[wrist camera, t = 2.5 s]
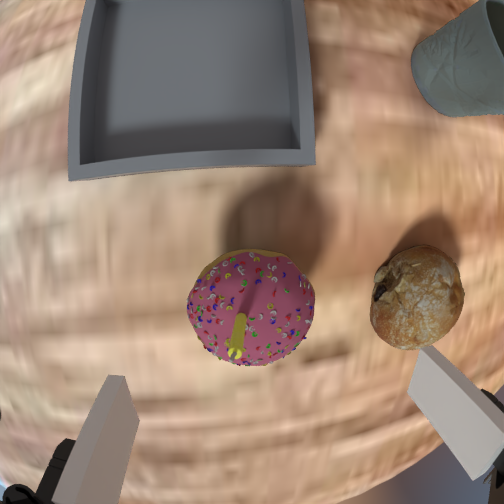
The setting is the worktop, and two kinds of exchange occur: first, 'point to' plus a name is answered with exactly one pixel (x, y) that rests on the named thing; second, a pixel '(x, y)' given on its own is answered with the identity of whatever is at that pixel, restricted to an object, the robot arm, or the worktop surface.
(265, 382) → the worktop surface
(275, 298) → the cupcake
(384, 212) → the worktop surface
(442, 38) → the grey cup
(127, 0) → the serving tray
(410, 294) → the bread roll
